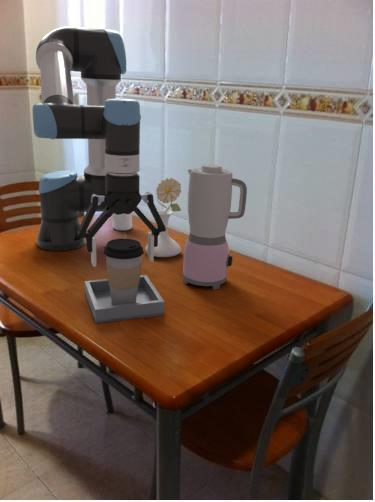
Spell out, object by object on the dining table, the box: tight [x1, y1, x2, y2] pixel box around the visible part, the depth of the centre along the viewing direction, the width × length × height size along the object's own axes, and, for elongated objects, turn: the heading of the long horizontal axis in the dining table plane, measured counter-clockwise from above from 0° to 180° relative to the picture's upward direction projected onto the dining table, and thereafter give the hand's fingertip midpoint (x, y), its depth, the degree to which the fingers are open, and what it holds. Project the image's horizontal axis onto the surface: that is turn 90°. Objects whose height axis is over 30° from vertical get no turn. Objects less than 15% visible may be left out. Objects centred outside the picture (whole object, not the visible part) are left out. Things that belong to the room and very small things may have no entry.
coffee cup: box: [102, 238, 145, 305], centre depth 110 cm, size 9×9×15 cm
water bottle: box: [112, 212, 133, 232], centre depth 165 cm, size 7×7×25 cm
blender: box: [182, 163, 248, 290], centre depth 122 cm, size 16×12×32 cm
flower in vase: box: [144, 177, 182, 258], centre depth 141 cm, size 13×11×25 cm
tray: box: [84, 274, 165, 324], centre depth 112 cm, size 16×16×4 cm
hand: (122, 261), depth 109 cm, fingers open, 13 cm apart
